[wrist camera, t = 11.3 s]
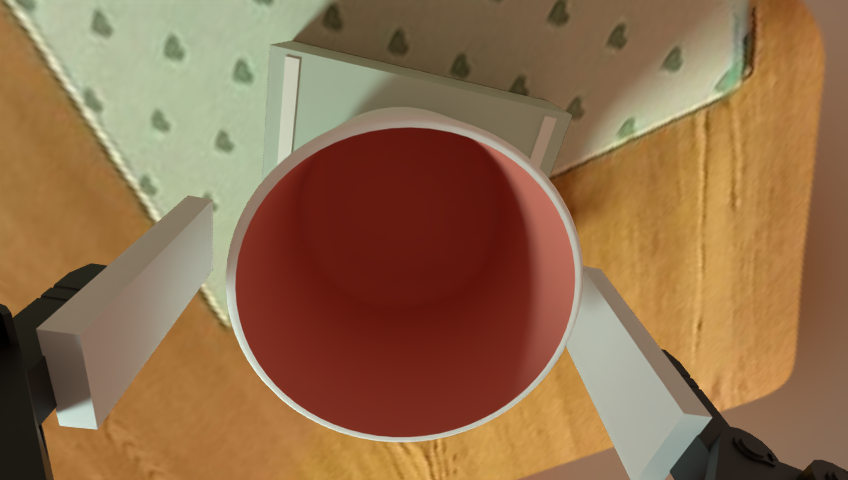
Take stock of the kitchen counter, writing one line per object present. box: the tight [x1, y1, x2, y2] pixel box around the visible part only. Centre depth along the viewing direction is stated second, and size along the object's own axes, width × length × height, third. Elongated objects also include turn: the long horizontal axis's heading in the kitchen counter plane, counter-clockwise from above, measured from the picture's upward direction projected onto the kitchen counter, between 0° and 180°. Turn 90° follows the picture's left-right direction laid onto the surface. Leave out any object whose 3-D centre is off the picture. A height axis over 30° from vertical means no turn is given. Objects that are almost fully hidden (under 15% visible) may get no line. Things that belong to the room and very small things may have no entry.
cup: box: [226, 107, 583, 442], centre depth 17 cm, size 10×10×10 cm
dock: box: [262, 41, 572, 182], centre depth 23 cm, size 12×14×6 cm
